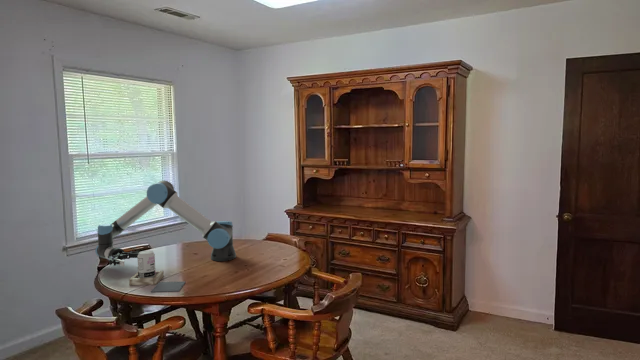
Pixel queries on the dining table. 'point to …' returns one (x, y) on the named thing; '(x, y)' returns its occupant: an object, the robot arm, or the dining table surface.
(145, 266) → the supplement can
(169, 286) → the slate mat
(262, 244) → the dining table surface
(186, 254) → the dining table surface
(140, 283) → the holder collar
